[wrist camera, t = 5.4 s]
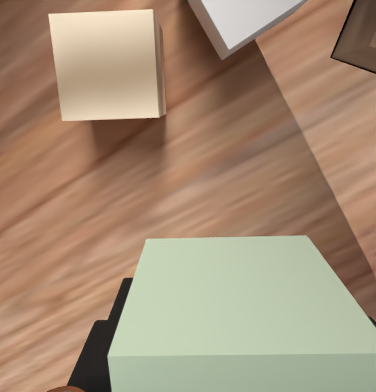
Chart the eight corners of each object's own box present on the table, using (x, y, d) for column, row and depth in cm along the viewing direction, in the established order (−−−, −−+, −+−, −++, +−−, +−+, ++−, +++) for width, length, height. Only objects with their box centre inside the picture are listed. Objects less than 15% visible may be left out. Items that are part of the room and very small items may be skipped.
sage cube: (146, 239, 11) (107, 356, 6) (306, 235, 11) (394, 353, 6) (156, 366, 12) (131, 542, 8) (297, 365, 12) (361, 543, 7)
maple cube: (81, 33, 21) (48, 13, 17) (162, 29, 21) (152, 9, 16) (90, 116, 23) (62, 120, 18) (166, 113, 23) (158, 117, 18)
